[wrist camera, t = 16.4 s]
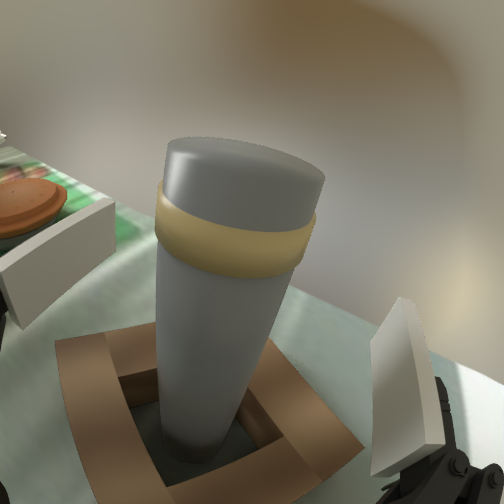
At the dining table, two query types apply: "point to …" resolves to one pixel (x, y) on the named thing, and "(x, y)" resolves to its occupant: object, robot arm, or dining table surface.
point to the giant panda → (2, 137)
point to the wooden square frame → (248, 414)
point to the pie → (28, 209)
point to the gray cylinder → (222, 276)
